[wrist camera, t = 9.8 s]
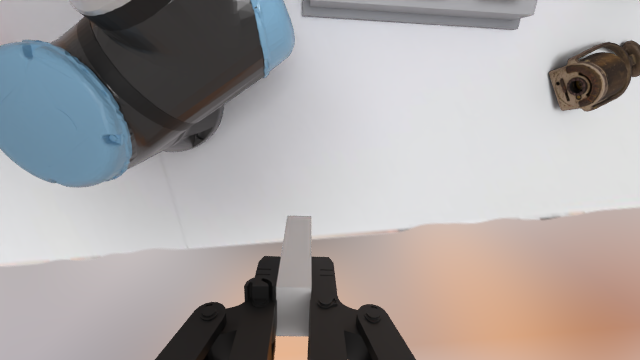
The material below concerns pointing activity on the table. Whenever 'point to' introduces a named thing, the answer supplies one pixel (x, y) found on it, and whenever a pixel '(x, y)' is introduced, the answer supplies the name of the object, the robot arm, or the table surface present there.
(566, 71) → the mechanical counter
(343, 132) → the table surface
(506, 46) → the table surface
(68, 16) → the table surface
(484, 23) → the switch unit
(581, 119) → the table surface
